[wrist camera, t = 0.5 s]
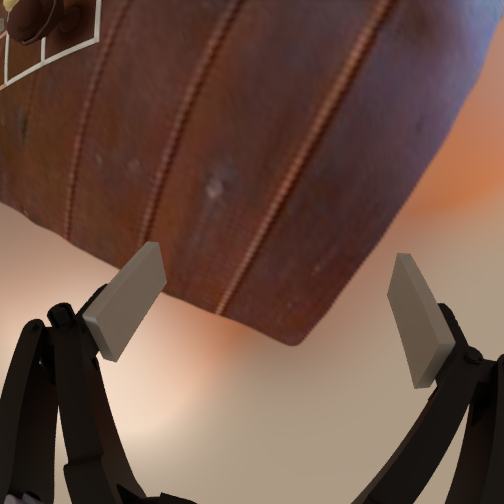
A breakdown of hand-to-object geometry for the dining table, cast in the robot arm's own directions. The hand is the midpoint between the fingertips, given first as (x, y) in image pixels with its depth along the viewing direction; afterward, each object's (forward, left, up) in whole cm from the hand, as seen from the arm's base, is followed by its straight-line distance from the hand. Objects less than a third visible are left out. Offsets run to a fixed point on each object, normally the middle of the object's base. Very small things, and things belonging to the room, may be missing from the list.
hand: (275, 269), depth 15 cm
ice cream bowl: (-30, -37, -28) cm, 55 cm away
